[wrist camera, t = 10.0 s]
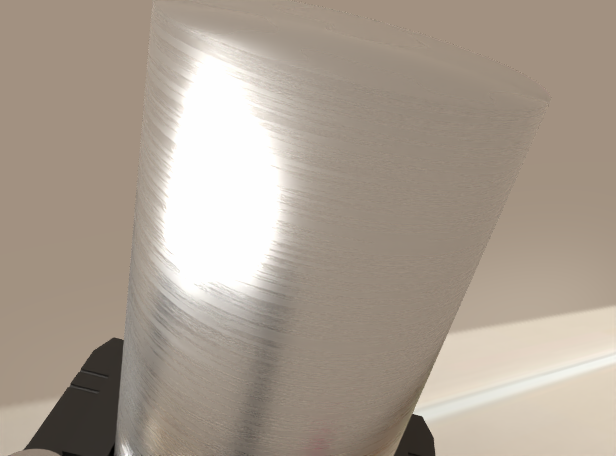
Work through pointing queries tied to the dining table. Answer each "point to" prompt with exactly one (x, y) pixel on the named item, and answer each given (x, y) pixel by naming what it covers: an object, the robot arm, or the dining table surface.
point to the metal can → (305, 225)
